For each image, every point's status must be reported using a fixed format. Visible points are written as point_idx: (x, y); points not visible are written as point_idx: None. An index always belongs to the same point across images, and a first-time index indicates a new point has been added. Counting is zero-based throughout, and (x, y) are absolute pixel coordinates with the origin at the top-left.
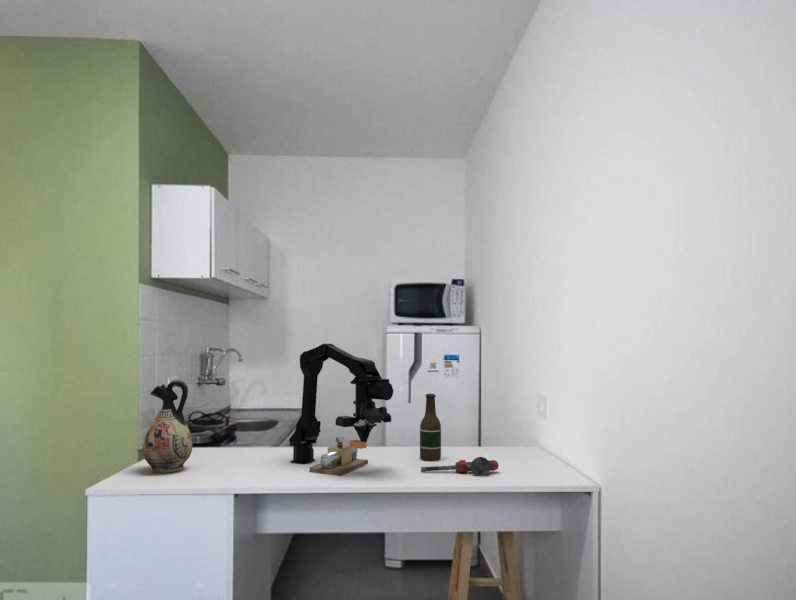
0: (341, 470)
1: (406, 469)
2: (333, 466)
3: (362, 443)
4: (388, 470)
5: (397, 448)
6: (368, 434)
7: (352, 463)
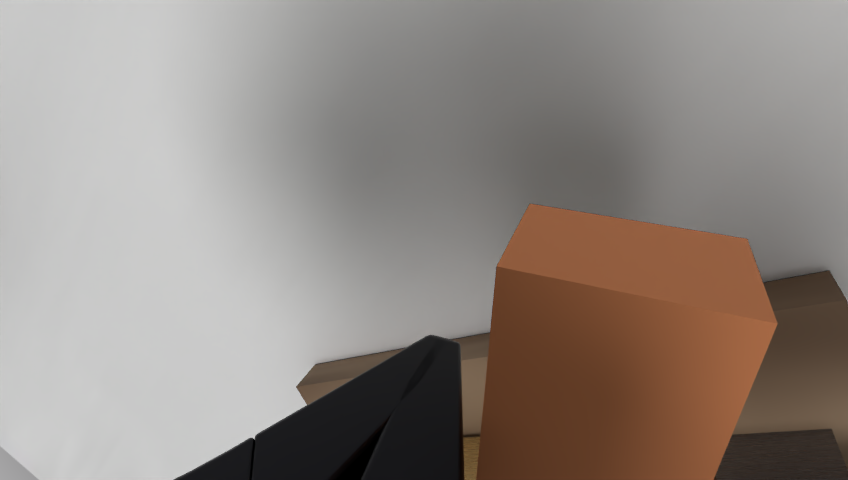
0: (815, 311)
1: (139, 11)
2: (794, 448)
3: (652, 286)
4: (284, 95)
5: (30, 448)
6: (238, 468)
7: (472, 407)
